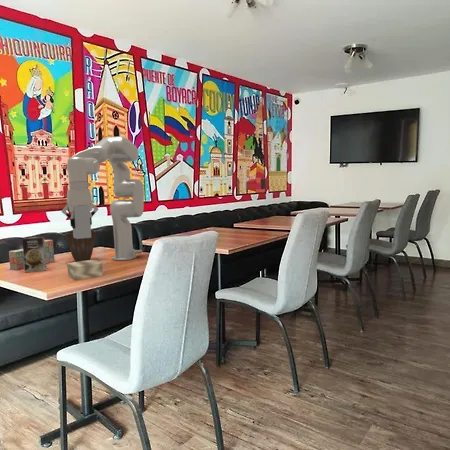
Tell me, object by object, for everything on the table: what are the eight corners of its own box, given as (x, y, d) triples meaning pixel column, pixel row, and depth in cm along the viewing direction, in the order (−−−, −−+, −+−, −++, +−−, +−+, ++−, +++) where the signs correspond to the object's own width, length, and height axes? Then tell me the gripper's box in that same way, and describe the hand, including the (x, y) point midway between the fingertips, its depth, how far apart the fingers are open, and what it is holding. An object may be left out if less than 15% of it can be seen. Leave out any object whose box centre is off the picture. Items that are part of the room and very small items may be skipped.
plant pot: (101, 258, 228) (99, 229, 226) (90, 263, 213) (88, 232, 211) (75, 259, 229) (73, 230, 228) (62, 264, 215) (60, 233, 213)
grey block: (87, 236, 188) (84, 205, 186) (91, 237, 182) (89, 205, 180) (73, 237, 184) (71, 205, 183) (77, 238, 179) (74, 206, 177)
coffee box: (24, 272, 198) (21, 239, 196) (27, 270, 204) (24, 237, 202) (45, 270, 200) (42, 237, 198) (47, 268, 206) (44, 236, 205)
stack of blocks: (17, 270, 204) (15, 245, 203) (10, 269, 208) (7, 245, 206) (55, 262, 223) (53, 239, 221) (47, 261, 226) (45, 239, 225)
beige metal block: (95, 272, 193) (94, 259, 193) (102, 276, 183) (101, 263, 183) (68, 276, 187) (67, 263, 186) (74, 281, 177) (73, 267, 176)
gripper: (96, 185, 189) (98, 225, 190) (55, 187, 180) (59, 228, 181) (100, 185, 182) (103, 226, 184) (59, 186, 173) (62, 229, 175)
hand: (81, 227), depth 183 cm, fingers closed on grey block, 6 cm apart
